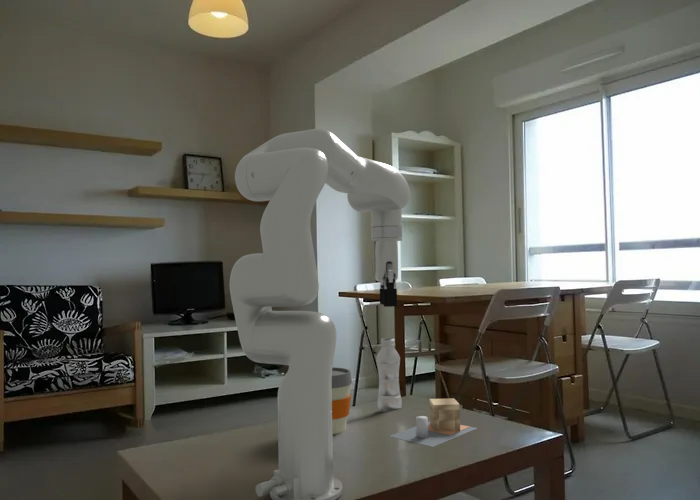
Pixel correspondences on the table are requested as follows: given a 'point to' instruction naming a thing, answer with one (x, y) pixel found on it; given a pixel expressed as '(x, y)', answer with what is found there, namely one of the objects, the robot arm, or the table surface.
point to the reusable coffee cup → (340, 398)
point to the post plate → (429, 433)
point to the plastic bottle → (388, 376)
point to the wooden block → (444, 414)
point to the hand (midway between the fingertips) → (388, 305)
